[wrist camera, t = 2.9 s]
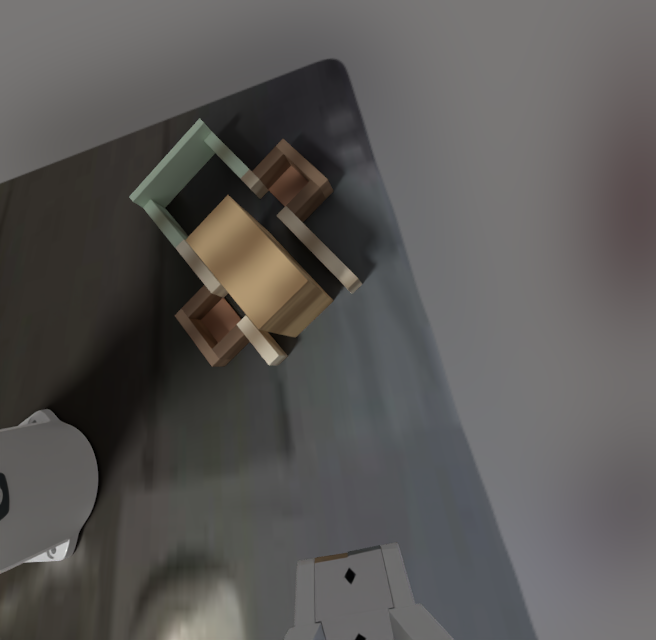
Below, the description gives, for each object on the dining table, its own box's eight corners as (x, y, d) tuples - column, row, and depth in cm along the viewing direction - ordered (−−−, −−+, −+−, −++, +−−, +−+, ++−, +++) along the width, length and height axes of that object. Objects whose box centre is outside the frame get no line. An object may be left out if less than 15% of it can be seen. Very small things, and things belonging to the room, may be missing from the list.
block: (333, 300, 36) (308, 280, 27) (295, 337, 36) (258, 329, 28) (269, 231, 39) (227, 194, 30) (235, 266, 40) (185, 240, 31)
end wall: (223, 144, 42) (204, 122, 39) (157, 216, 44) (132, 201, 40) (218, 140, 43) (199, 118, 39) (154, 211, 44) (129, 196, 40)
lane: (397, 250, 34) (396, 241, 32) (246, 395, 37) (235, 398, 34) (250, 114, 42) (240, 99, 39) (132, 243, 44) (116, 236, 42)
